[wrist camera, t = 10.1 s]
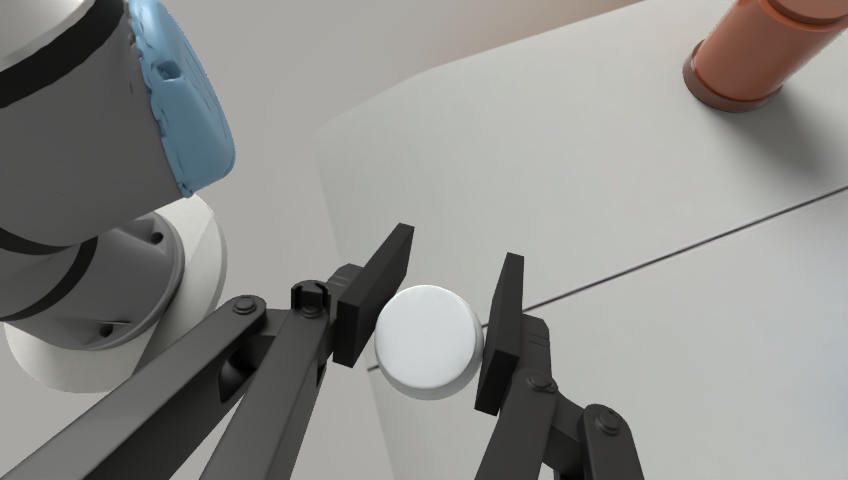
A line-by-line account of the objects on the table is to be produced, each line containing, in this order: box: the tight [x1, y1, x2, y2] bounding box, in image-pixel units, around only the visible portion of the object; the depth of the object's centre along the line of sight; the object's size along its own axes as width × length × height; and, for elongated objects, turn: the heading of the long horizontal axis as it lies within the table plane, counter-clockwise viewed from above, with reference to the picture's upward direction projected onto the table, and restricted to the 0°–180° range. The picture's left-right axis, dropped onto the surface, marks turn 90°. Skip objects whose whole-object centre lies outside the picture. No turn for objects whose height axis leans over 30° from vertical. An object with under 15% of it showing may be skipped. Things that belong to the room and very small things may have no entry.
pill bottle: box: [374, 285, 484, 400], centre depth 16 cm, size 4×4×8 cm
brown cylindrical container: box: [683, 0, 848, 112], centre depth 37 cm, size 9×9×11 cm
